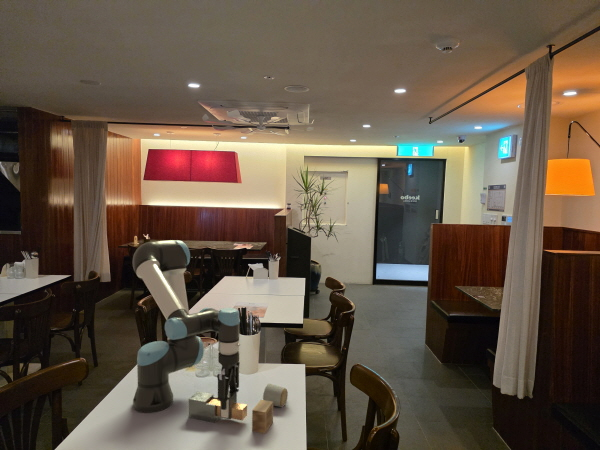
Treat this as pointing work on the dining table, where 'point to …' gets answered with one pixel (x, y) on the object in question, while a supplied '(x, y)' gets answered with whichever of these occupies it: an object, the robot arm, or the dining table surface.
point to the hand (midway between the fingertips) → (228, 412)
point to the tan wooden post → (231, 407)
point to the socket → (262, 416)
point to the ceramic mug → (275, 395)
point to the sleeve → (202, 407)
